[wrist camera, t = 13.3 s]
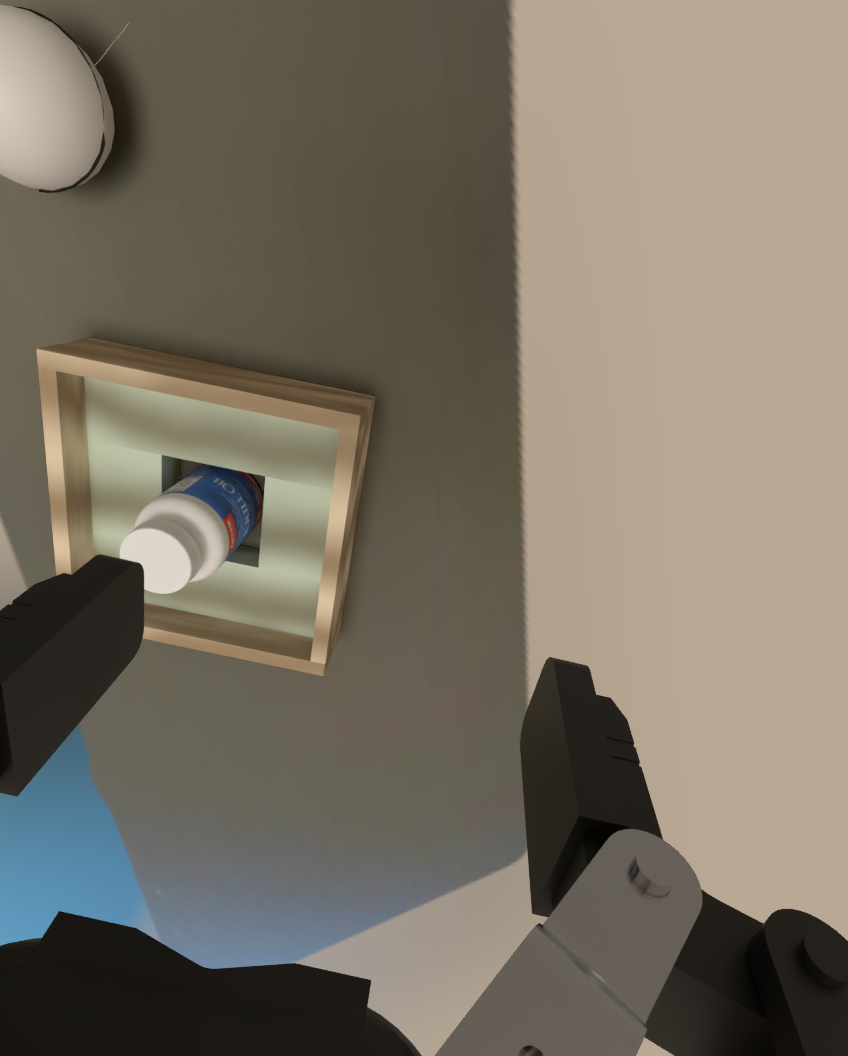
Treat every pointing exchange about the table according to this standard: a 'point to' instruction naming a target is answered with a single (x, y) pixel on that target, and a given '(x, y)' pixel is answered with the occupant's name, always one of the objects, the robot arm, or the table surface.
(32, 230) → the table surface
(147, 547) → the pill bottle
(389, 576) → the table surface
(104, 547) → the bore box
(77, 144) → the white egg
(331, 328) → the table surface
